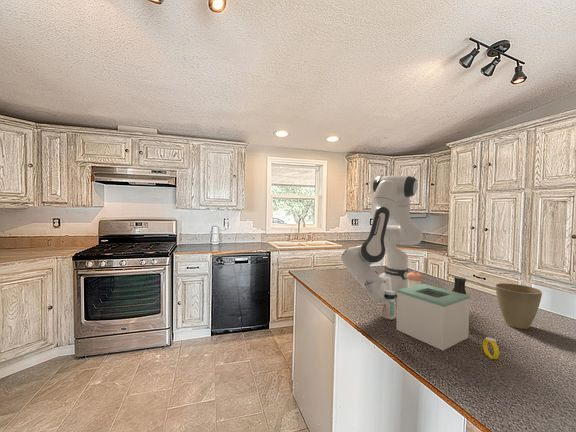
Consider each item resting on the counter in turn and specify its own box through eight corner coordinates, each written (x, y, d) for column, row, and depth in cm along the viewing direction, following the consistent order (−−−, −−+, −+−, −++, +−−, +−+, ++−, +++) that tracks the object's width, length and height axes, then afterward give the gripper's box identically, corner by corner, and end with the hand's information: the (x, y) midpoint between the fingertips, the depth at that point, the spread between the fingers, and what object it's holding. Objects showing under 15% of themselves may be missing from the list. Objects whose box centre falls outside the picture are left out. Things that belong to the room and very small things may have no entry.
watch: (480, 352, 89) (480, 334, 89) (489, 353, 89) (489, 335, 89) (492, 361, 83) (492, 342, 83) (501, 362, 83) (501, 343, 83)
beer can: (385, 314, 119) (385, 288, 119) (395, 317, 116) (396, 290, 116) (381, 318, 116) (381, 291, 115) (392, 321, 112) (393, 293, 112)
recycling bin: (396, 329, 105) (397, 289, 104) (422, 320, 114) (423, 283, 114) (442, 350, 89) (444, 304, 89) (468, 337, 99) (469, 295, 98)
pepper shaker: (424, 315, 120) (425, 273, 119) (407, 313, 121) (408, 272, 121) (419, 309, 127) (420, 269, 126) (403, 307, 128) (404, 269, 128)
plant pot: (507, 316, 120) (508, 281, 119) (549, 330, 106) (550, 291, 105) (485, 320, 114) (487, 284, 114) (527, 336, 100) (528, 295, 100)
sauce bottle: (458, 328, 106) (459, 280, 106) (445, 322, 112) (446, 276, 112) (470, 326, 108) (472, 279, 108) (457, 320, 114) (458, 275, 114)
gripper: (369, 280, 109) (393, 307, 105) (376, 270, 127) (398, 293, 123) (358, 288, 111) (381, 316, 107) (367, 278, 130) (387, 301, 125)
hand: (390, 303), depth 115 cm, fingers closed on beer can, 5 cm apart
